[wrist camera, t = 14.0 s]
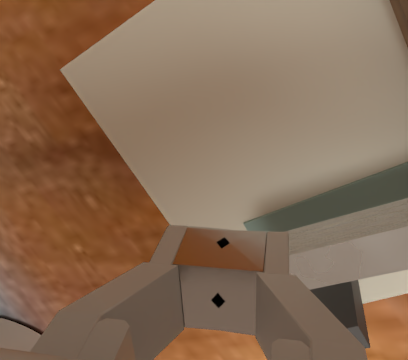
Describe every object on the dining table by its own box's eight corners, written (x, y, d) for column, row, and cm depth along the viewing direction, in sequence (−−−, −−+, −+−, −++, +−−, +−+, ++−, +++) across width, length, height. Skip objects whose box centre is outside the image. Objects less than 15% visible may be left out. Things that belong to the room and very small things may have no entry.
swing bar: (570, 138, 13) (624, 172, 11) (580, 211, 14) (632, 257, 12) (249, 229, 18) (242, 267, 16) (276, 280, 19) (272, 321, 17)
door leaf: (249, 307, 27) (235, 398, 21) (79, 61, 21) (-3, 96, 15) (478, 247, 21) (542, 351, 15) (334, -122, 15) (353, -175, 9)
